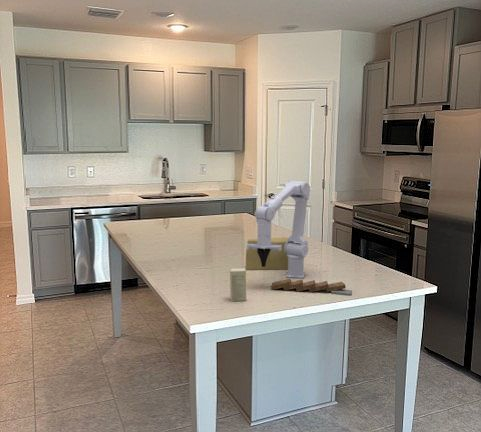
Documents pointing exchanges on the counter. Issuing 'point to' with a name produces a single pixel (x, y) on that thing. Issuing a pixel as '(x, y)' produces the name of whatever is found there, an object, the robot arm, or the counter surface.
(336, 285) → the walnut domino
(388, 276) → the counter surface
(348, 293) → the grey domino
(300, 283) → the walnut domino
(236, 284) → the skincare box
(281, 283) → the walnut domino
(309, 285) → the walnut domino
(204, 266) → the counter surface
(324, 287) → the walnut domino
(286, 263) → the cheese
